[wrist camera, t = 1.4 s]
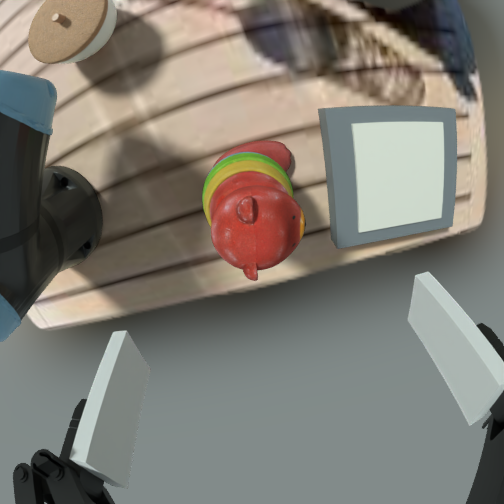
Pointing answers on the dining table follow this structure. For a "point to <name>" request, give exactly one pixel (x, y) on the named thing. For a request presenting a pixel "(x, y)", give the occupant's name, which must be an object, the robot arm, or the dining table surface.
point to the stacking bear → (253, 207)
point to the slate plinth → (388, 171)
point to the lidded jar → (71, 29)
